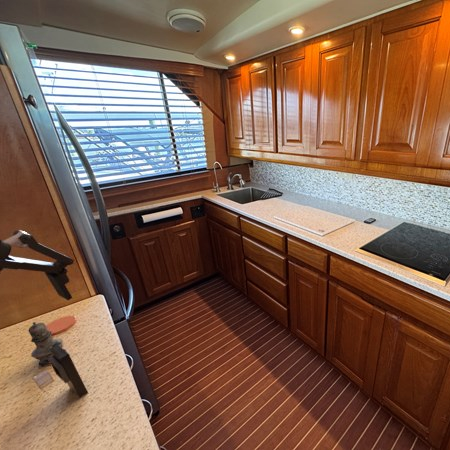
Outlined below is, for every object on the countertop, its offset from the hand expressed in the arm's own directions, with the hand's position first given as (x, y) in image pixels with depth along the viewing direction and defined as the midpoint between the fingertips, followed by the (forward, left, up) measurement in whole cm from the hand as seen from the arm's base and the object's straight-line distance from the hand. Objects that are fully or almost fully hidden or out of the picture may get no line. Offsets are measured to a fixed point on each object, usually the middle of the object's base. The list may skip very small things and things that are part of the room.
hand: (21, 324), depth 42 cm
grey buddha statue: (-18, +9, -23) cm, 31 cm away
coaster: (-29, +18, -23) cm, 42 cm away
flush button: (-3, 0, -17) cm, 17 cm away
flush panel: (-2, +3, -23) cm, 24 cm away
